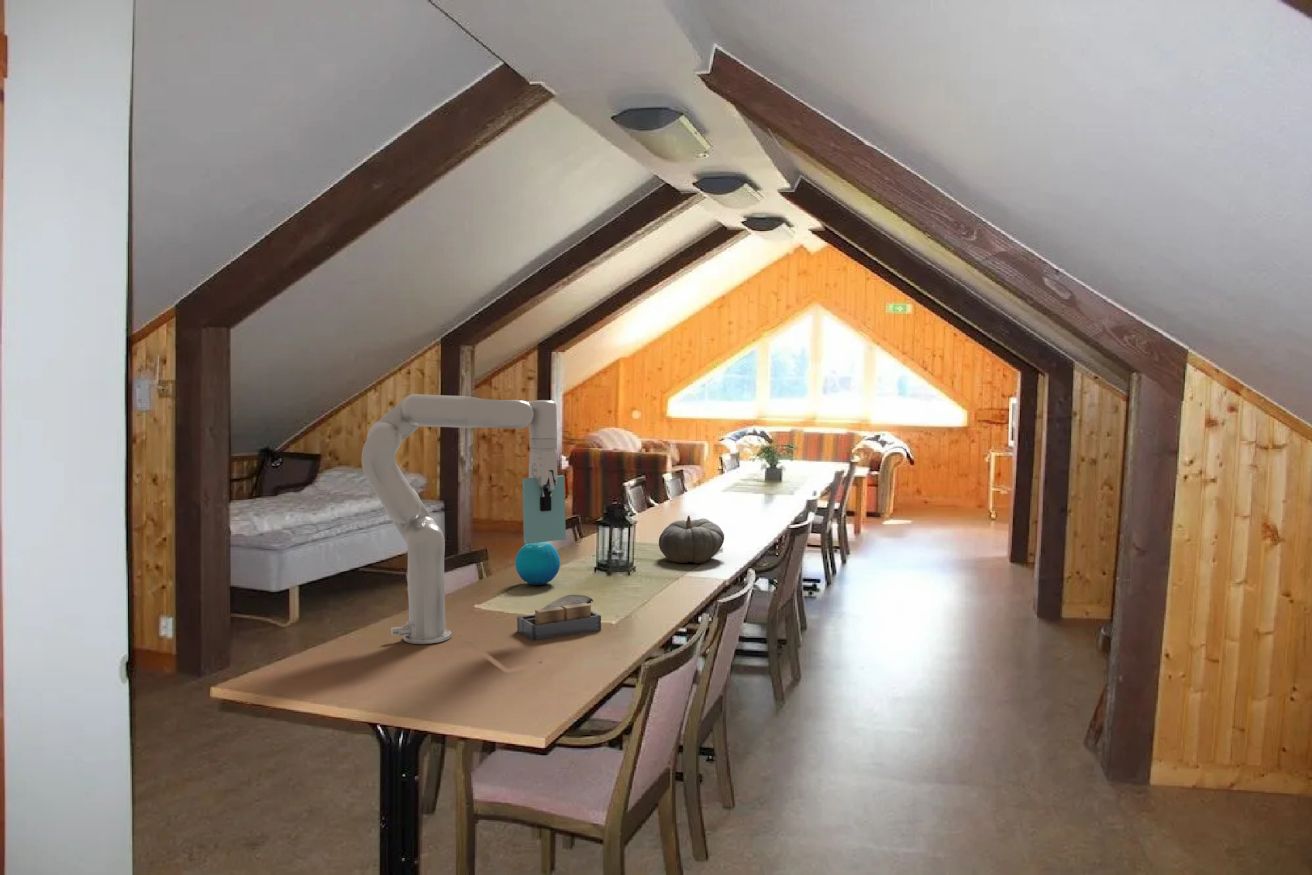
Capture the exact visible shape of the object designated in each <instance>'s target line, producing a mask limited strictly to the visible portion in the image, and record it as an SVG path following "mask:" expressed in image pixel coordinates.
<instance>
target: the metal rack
mask: <svg viewBox="0 0 1312 875" xmlns="http://www.w3.org/2000/svg"><path fill="white" fill-rule="evenodd" d="M516 623H517V624H516V628H517V629H516V630H517V632H518V633H519V634H520V635H523V636H524V637H525V638H528V639H529V640H531V641H533V642H536V641H542V640H543V641H544V640H549V639H554V638H560V637H567V636H573V635H574V636H575V635H579V634H586V633H591V632H593V633H594V632H599V631H602V616H601V615H600V614H599V613H596V612H594V611H592V610H591V616H590V617H583V618H577V619H570V620H563V621H557V622H550V623H543V624H537V625H535V615H534V614H531V615H530V614H529V615H523V616H520V615H519V616H516Z"/></svg>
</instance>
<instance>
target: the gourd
mask: <svg viewBox="0 0 1312 875" xmlns="http://www.w3.org/2000/svg"><path fill="white" fill-rule="evenodd" d="M724 541H725V534H724V532H723V530H722V528H721V526H719V525H718V524H717V523H714V522H712V521H710V520H709V519H707V518H699V519H691V517H690V515H687V518H686V520H683V519H682V520H675V521H673V522H671V523H670V524H669V525H668V526H666V527H665V528H664V530H662V532H661V533H660V536H659V537H658V546H659V550H660V551H661V553H662V554H663V556H664V557H665V558H666V559H667V560H669V561H670V562H674V563H680V564H687V563H689V562H692V563H694V564H702V563H706V562H707V561H709V560H710V559H712V558H713V557H714V556H715V555H716V554H717V553H718V552H720V550H721V548H722V547H723V544H724Z"/></svg>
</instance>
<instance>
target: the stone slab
mask: <svg viewBox="0 0 1312 875" xmlns="http://www.w3.org/2000/svg"><path fill="white" fill-rule="evenodd" d="M591 601H592V602H593V601H594V600H593V598H592V597H589V595H588V596H587V595H584V594H583V595H581V594H568V595H565V596H562V597H560V598H557V599H555V600H554V601H552V602H550V603H548V604H546V605H545V606H544V607H543V608H541V609H546V608H553V607H561V608H563V606H567V605H574V604H581V603H587V604H589V603H590V604H591V603H592V602H591ZM590 604H589V605H590ZM533 615H535V613H534V614H533Z"/></svg>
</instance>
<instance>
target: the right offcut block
mask: <svg viewBox="0 0 1312 875" xmlns="http://www.w3.org/2000/svg"><path fill="white" fill-rule="evenodd" d="M591 606H592V605H591V604H587V603H581V604H574V605H567V606H563V609H564V620H570V619H577V618H583V617H590V616H591V611H592V610H591V609H592V608H591Z"/></svg>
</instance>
